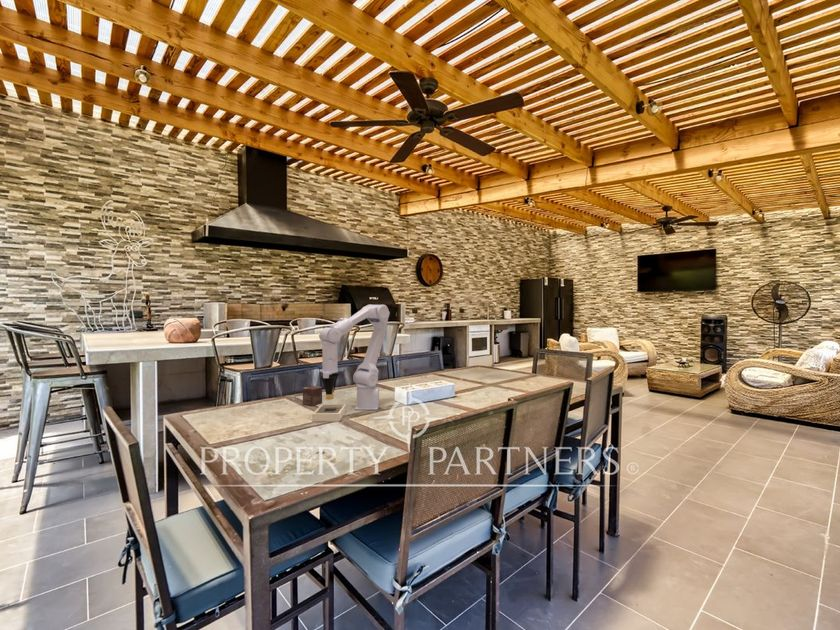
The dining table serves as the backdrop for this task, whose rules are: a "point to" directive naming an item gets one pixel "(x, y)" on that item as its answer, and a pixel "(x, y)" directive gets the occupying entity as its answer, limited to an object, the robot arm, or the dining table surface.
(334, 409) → the socket plate
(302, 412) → the dining table surface
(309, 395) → the box
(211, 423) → the dining table surface
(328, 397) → the peg
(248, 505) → the dining table surface
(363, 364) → the robot arm
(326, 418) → the tray
